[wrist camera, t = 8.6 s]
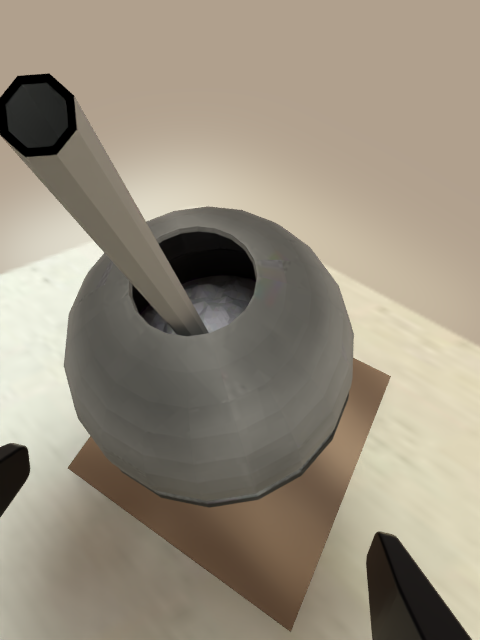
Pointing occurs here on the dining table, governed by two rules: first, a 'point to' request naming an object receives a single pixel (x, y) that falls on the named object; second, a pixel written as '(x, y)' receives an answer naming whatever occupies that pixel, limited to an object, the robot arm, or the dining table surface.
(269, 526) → the walnut board
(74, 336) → the beverage cup
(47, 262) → the dining table surface
